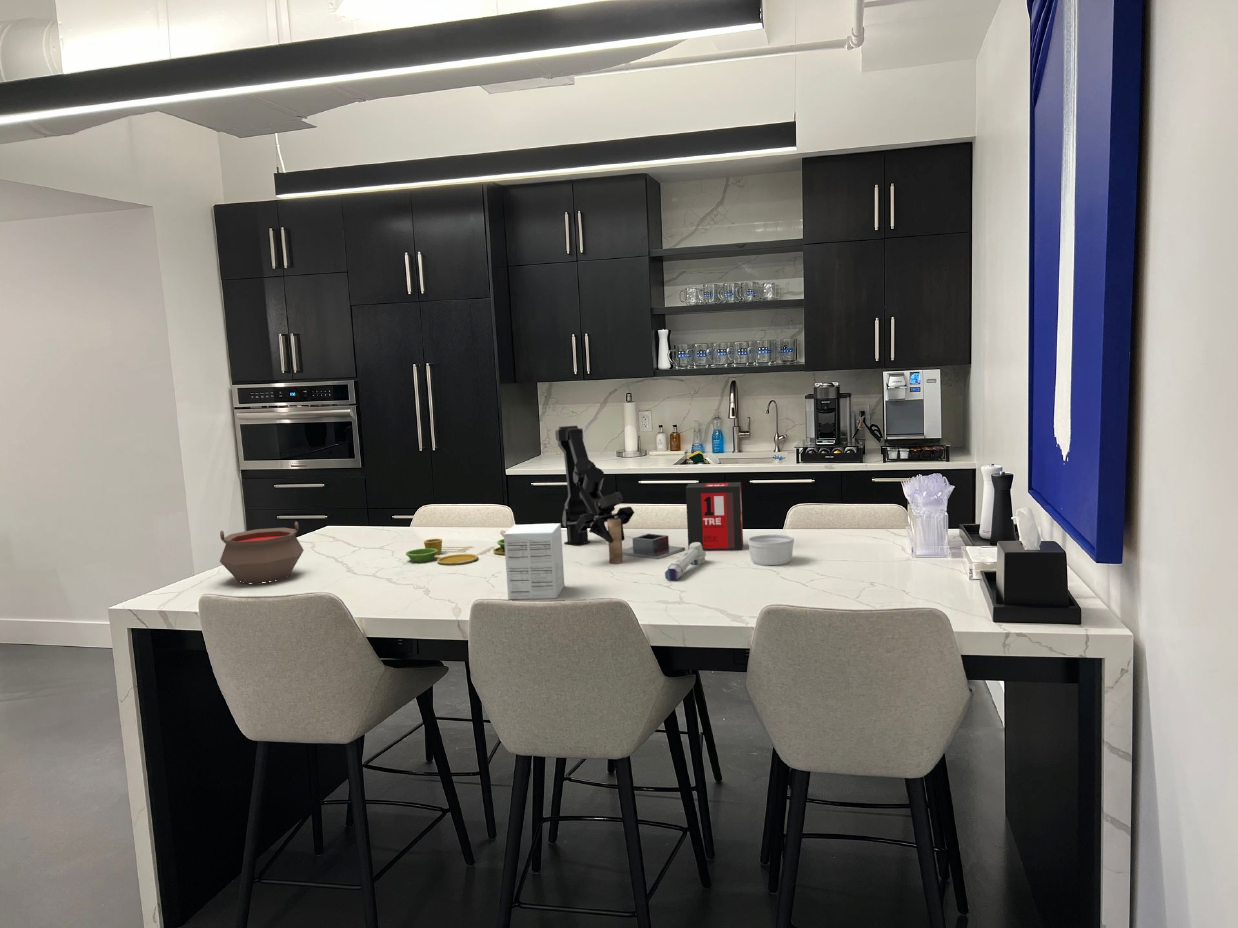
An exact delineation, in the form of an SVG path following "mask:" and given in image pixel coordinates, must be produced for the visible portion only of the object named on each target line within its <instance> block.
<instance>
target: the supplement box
mask: <svg viewBox="0 0 1238 928" xmlns="http://www.w3.org/2000/svg"><path fill="white" fill-rule="evenodd" d="M505 532H506V533H505V534H504V537H503V539H504V545H505V555H504V556H505V570H506V585H507V586H506V587H507V599H508V600H533V599H534V600H536V599H537V600H538V599H540V600H541V599H543V600H545V599H548V600H549V599H557V598H558V597H559V595H560V594H561V592H562V590H563V589H564V587H565V585H566V583H565V572H564V570H565V569H564V556H563V555H564V554H563V538H562V536H563V535H562V523H561V522H560V523H533V524H527V523H526V524H513V525H512V526H511V528H509V529H508V530H507V531H505Z"/></svg>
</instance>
